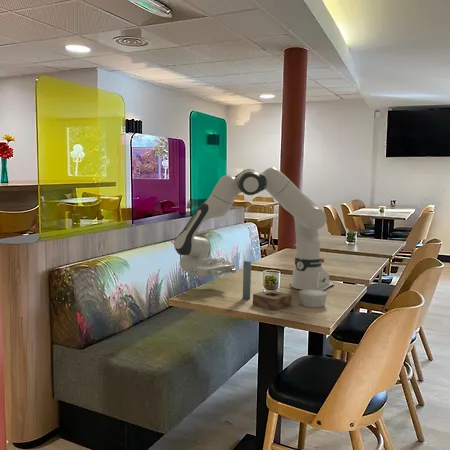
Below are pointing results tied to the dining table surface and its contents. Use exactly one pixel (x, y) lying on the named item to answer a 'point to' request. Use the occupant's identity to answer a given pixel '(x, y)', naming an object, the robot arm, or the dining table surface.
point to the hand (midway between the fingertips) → (227, 272)
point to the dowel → (246, 279)
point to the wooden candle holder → (272, 300)
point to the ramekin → (313, 298)
